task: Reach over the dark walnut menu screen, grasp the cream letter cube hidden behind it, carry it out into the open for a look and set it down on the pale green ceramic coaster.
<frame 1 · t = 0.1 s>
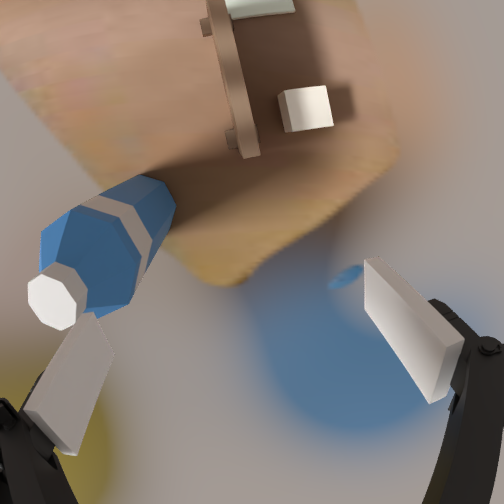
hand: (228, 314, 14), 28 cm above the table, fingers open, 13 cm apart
walnut screen: (229, 78, 34), on the table
water bottle: (143, 208, 39), on the table
letter cube: (299, 111, 36), on the table
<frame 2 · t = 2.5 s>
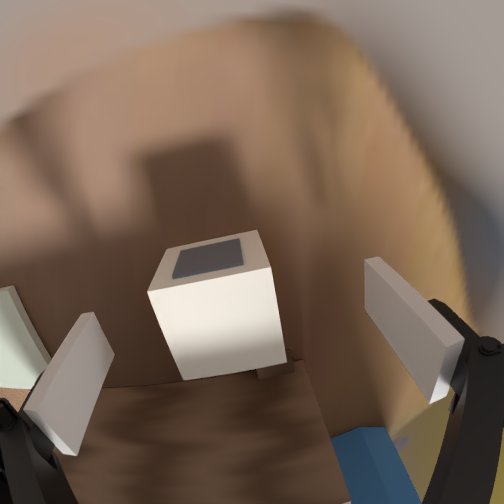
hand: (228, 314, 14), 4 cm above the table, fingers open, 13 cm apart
walnut screen: (167, 391, 20), on the table
coaster: (5, 341, 17), on the table
water bottle: (348, 449, 26), on the table
letter cube: (221, 279, 17), on the table
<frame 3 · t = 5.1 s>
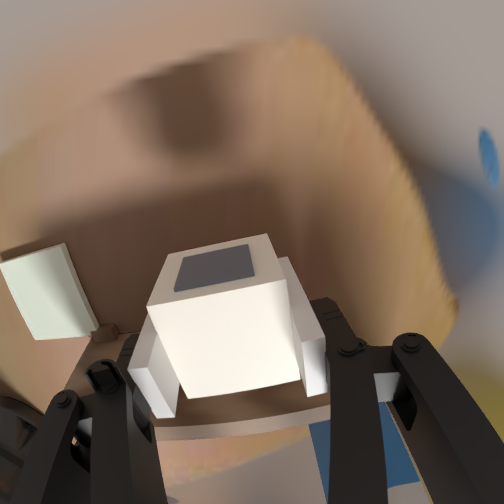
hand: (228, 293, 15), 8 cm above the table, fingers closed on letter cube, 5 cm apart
walnut screen: (188, 332, 26), on the table
coaster: (48, 295, 24), on the table
water bottle: (342, 404, 32), on the table
letter cube: (227, 287, 16), point 8 cm above the table, touching gripper
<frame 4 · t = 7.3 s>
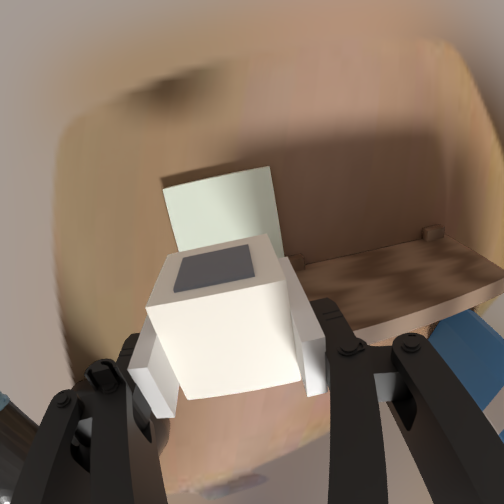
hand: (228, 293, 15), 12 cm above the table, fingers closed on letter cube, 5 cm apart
walnut screen: (368, 258, 29), on the table
coaster: (226, 226, 27), on the table
water bottle: (450, 333, 35), on the table
letter cube: (227, 288, 16), point 12 cm above the table, touching gripper
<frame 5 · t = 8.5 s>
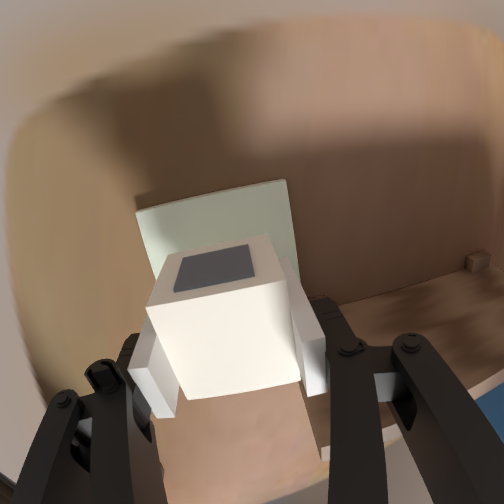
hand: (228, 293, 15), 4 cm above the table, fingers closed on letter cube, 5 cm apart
walnut screen: (404, 296, 22), on the table
coaster: (224, 261, 19), on the table
water bottle: (479, 366, 28), on the table
letter cube: (227, 288, 16), point 4 cm above the table, touching gripper
when the fingers open (3 cm above the table, at t = 9.5 s): letter cube drops 1 cm, resting on coaster.
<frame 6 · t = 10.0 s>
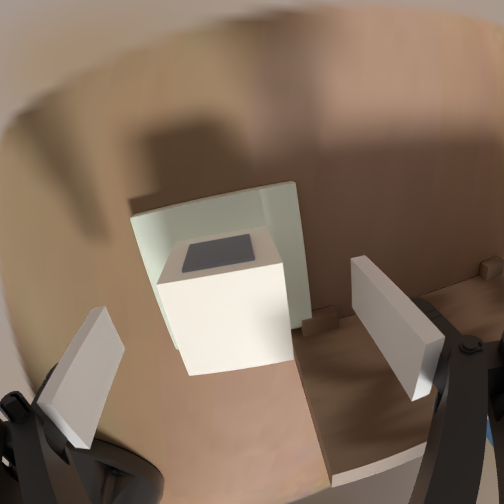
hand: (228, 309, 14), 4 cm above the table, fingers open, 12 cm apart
walnut screen: (417, 305, 20), on the table
coaster: (227, 270, 18), on the table
letter cube: (228, 275, 17), point 1 cm above the table, touching coaster
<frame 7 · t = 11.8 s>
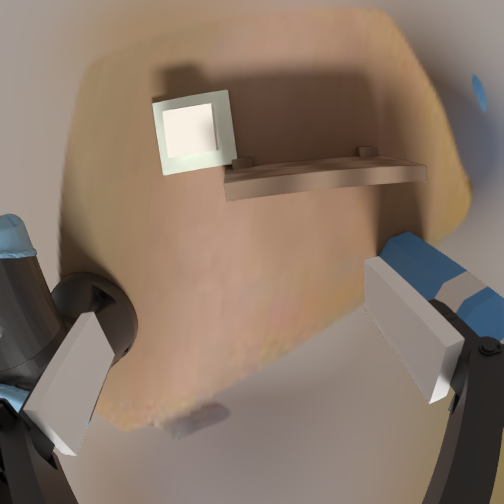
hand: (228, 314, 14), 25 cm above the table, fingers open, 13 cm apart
walnut screen: (308, 166, 36), on the table
coaster: (195, 132, 34), on the table
water bottle: (401, 260, 42), on the table
letter cube: (194, 131, 33), point 1 cm above the table, touching coaster
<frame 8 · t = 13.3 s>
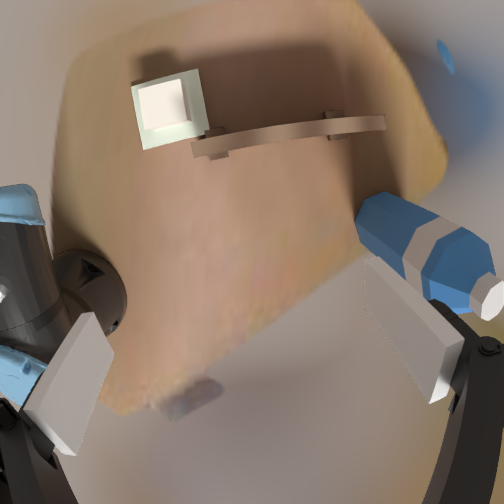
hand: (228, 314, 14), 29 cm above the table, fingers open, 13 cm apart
walnut screen: (277, 132, 38), on the table
coaster: (170, 109, 35), on the table
water bottle: (381, 220, 44), on the table
letter cube: (169, 107, 35), point 1 cm above the table, touching coaster
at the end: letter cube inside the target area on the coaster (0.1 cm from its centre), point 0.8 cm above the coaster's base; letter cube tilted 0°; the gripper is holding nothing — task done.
